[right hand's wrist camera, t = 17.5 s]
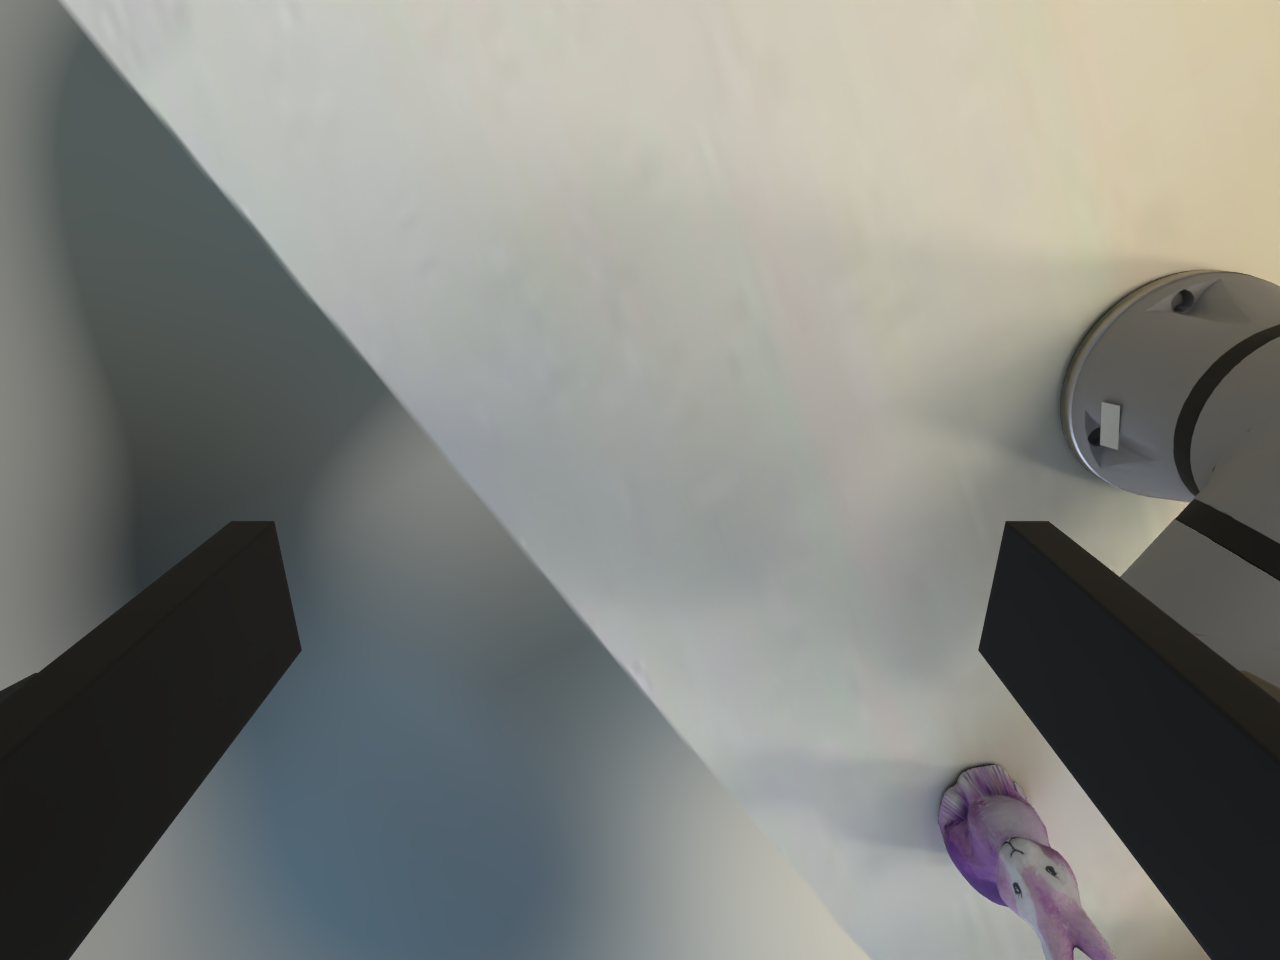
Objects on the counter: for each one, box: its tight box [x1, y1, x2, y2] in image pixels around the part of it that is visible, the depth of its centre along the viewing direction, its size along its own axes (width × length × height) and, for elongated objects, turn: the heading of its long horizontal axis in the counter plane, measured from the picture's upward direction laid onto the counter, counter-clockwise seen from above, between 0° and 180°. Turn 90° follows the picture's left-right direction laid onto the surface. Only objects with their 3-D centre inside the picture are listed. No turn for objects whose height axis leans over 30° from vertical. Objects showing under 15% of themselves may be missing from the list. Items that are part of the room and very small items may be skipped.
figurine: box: [938, 765, 1116, 960], centre depth 55 cm, size 9×10×15 cm
